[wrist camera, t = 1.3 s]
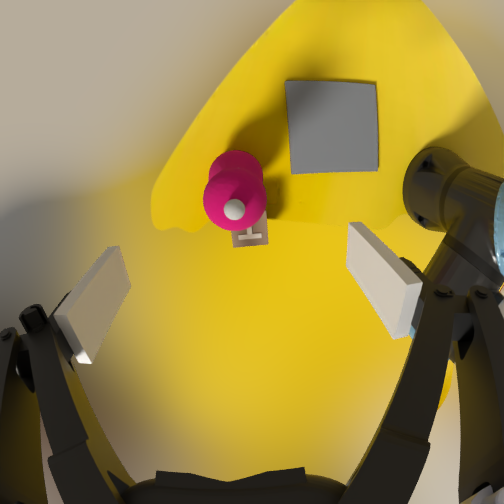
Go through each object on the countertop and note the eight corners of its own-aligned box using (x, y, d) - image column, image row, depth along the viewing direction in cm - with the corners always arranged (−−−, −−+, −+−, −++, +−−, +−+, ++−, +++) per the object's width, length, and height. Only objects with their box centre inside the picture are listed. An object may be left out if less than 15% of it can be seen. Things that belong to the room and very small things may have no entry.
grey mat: (372, 85, 36) (375, 84, 35) (375, 170, 42) (377, 171, 41) (284, 81, 35) (285, 80, 35) (291, 173, 42) (292, 174, 41)
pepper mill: (216, 143, 39) (197, 161, 21) (265, 153, 40) (288, 178, 22) (207, 190, 42) (185, 245, 24) (254, 199, 43) (267, 259, 25)
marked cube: (263, 200, 43) (266, 210, 39) (265, 231, 46) (268, 244, 41) (230, 203, 43) (229, 213, 39) (233, 234, 46) (233, 248, 41)
